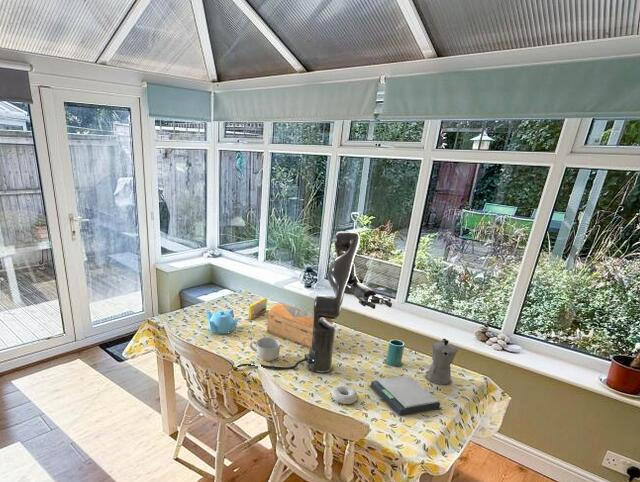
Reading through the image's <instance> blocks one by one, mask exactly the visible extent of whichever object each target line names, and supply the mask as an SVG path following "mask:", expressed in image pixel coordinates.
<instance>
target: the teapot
mask: <svg viewBox="0 0 640 482" xmlns="http://www.w3.org/2000/svg"><path fill="white" fill-rule="evenodd" d="M205 313H206V317H207V318H206V319H207V321H208V329H209V331H211V333H213V334H216V335H220V336H221V335H223V336H224V335H228V334H231V333H232V332H233V331H234V330H235V329H236V326H237V324H238V321H239V318H238V317H235V314H234V310H233V309H231V308H230V309H229V308H228V309H227V310H224V309H221V310H218V311H216V312H214V313H213V314H212V313H211V311H210V310H206V311H205ZM214 332H215V333H214ZM228 332H229V333H228Z"/></svg>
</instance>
